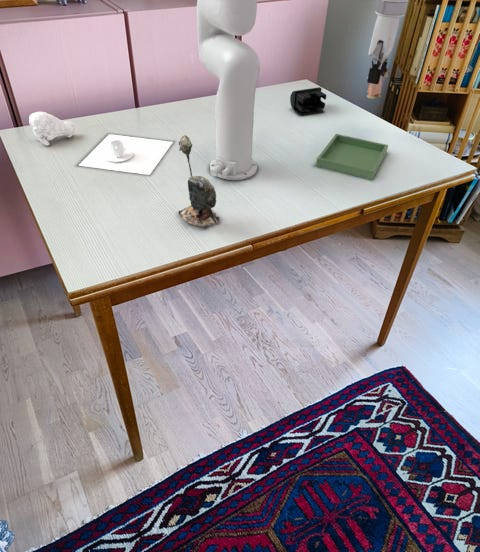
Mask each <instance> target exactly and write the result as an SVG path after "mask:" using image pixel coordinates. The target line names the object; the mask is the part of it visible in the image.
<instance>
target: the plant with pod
mask: <svg viewBox="0 0 480 552" xmlns="http://www.w3.org/2000/svg"><path fill="white" fill-rule="evenodd" d="M178 146H179V149H178V151H179V152H180V151H181V152H182V154H184V155H185V156H186V159H187V163H188V168H189V174H190V177H189V178H188V180H187V187H188V189H187V190H188V195H189V198H188V199H189V201H190V205H188V206H187V207H185V208H182V209H181V210H179V211H178V214H179V216H180V217H181V218H182V219H183V222H184V221H185V224H191V225H193V226H197V227H199V228H207V227H211V226H212V225H214V224H215V225H218V224H219V220H220V216H218V215H217V213H216V212H215V210H213V209H212V208H214V207H215V206H216V204H217V192H216V188H215V187H214V185H213V184H212V183H211V181H210V180H209V179H207V178H206V177H204V176H202V175H195V176H193V172H192V166H191V163H190V155H191V152H192V148H193V143H192V142H191V139H190V138H189V136H187V135H186V134H185V135H182V136H181V138H180V140H179V141H178Z"/></svg>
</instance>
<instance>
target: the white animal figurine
mask: <svg viewBox="0 0 480 552" xmlns="http://www.w3.org/2000/svg"><path fill="white" fill-rule="evenodd" d="M28 119H29V120H28V123H29V125H30V127H31V129H32V133H33V135H34V137H35V138H36V139H37V140H38V141H39V142H40V143H41V144H43V145H45V146H50V145H51V144H50V142H49V141H53V140H54V139H55V138H56V137H59V136H61V135H65V136H66V137H67V138H72V137H73V135H74V133H75V132H76V126H75V124H74V123H73V122H71V121H69V120H62V119H60V118H58V117H56V116H54V115H53V114H51V113H48V112H46V111H35V112H33V113H31V114H29V117H28ZM45 134H47V137H46V136H45Z"/></svg>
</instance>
